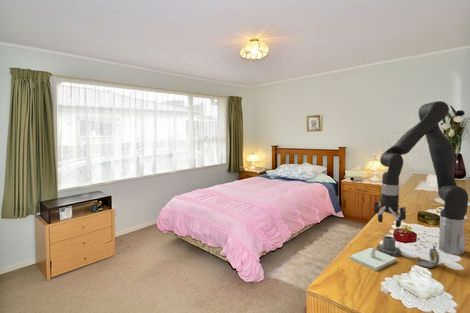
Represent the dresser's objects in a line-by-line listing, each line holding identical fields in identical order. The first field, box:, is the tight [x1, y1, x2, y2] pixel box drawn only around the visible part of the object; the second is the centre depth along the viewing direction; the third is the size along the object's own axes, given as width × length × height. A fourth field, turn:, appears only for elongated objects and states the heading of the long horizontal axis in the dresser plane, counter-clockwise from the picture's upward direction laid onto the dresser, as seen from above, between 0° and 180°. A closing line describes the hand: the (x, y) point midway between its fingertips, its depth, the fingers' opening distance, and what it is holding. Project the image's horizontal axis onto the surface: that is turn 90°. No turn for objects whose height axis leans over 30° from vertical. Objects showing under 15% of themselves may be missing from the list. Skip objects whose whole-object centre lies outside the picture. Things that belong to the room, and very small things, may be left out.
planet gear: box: [376, 235, 402, 257], centre depth 130 cm, size 10×10×7 cm
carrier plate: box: [349, 247, 397, 272], centre depth 122 cm, size 13×16×6 cm
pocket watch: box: [415, 243, 440, 269], centre depth 116 cm, size 8×8×10 cm
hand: (388, 224), depth 130 cm, fingers open, 8 cm apart
